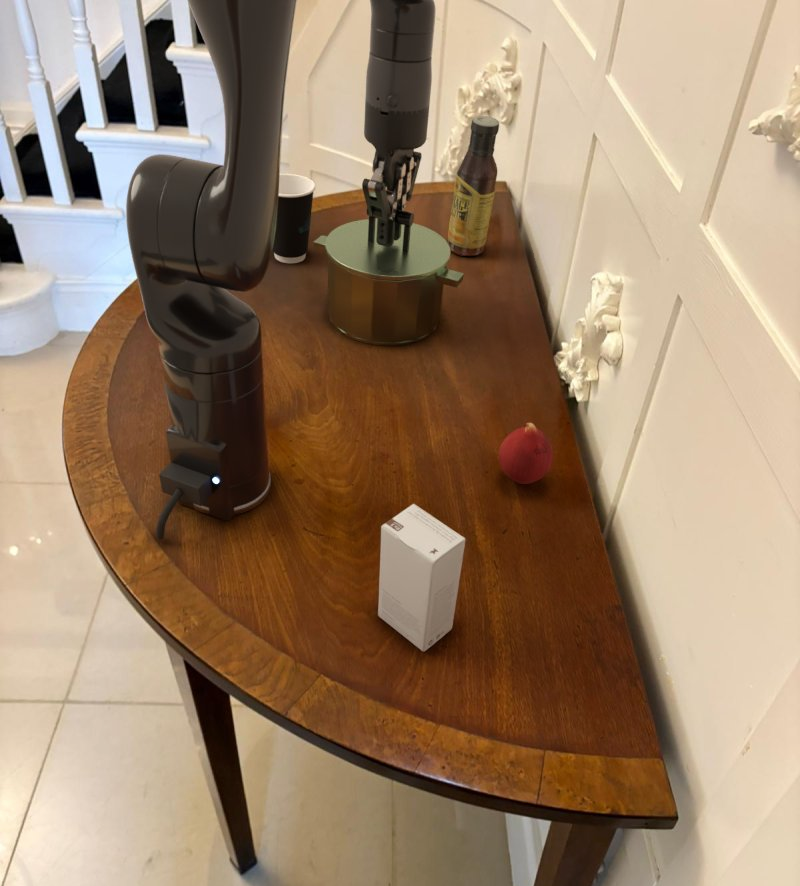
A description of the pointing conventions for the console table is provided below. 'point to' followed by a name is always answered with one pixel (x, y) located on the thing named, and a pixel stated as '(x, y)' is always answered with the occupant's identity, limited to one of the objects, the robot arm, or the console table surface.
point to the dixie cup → (293, 218)
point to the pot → (385, 304)
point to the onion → (526, 454)
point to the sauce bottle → (474, 190)
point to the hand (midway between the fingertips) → (388, 241)
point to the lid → (388, 249)
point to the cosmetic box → (419, 576)
